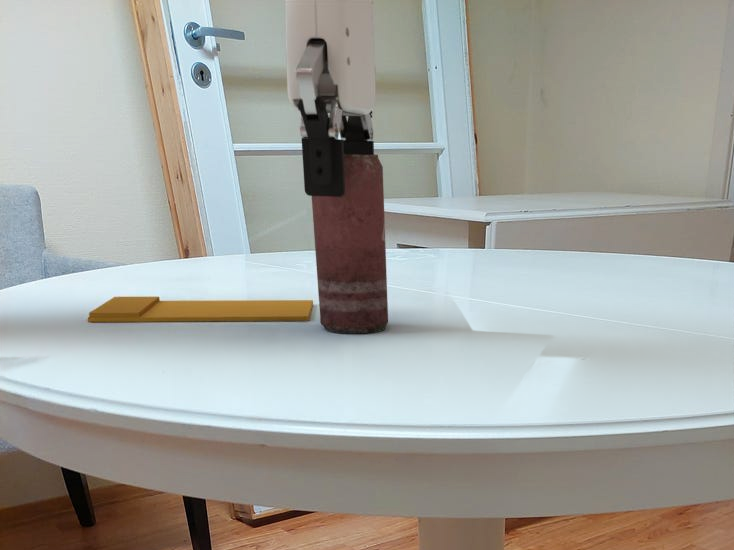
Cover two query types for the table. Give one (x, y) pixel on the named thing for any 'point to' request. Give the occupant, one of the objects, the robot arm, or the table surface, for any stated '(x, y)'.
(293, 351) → the table surface
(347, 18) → the robot arm
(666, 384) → the table surface
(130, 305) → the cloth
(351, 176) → the can
